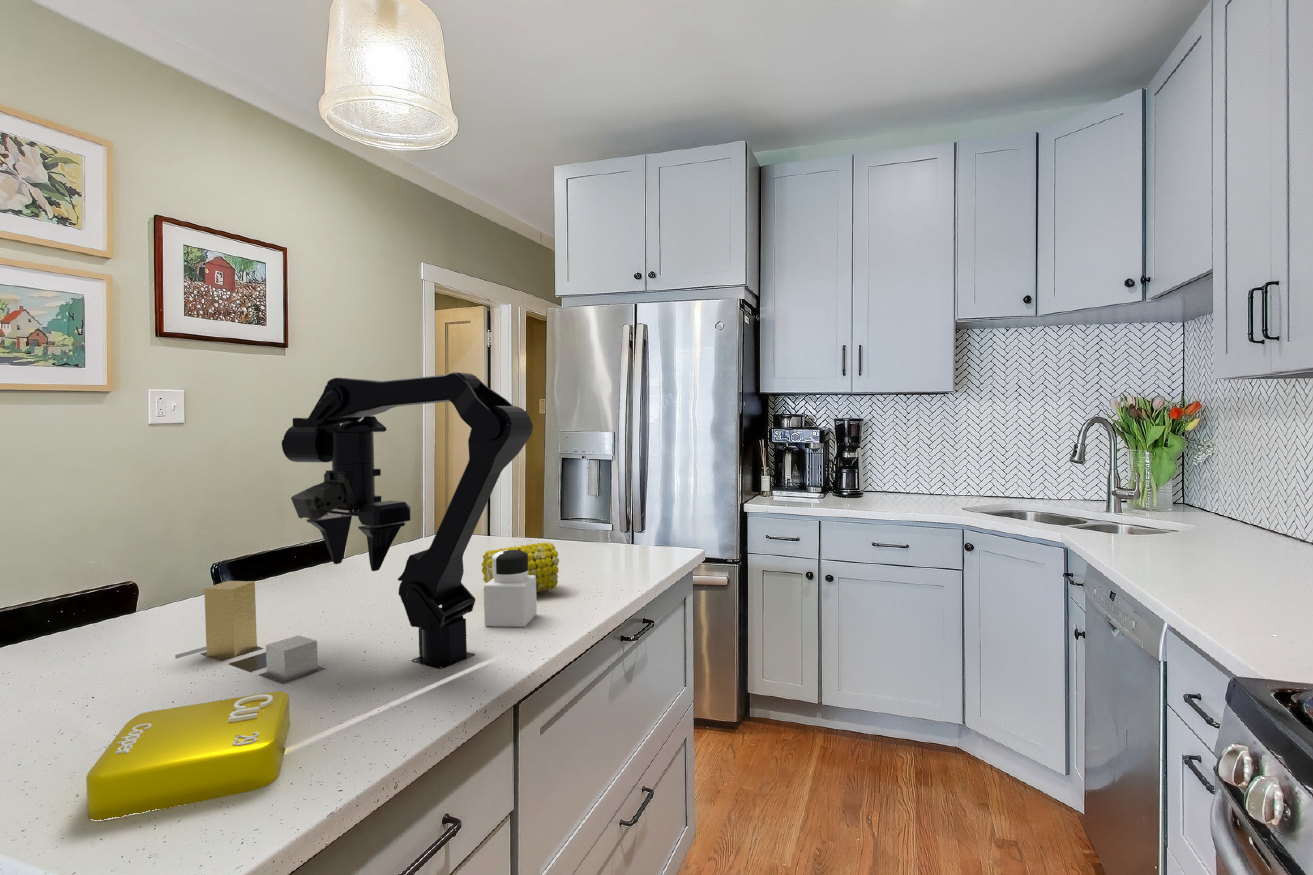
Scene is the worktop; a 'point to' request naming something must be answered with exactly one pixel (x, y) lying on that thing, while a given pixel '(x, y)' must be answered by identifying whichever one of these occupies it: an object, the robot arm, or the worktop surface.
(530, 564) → the food
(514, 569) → the medicine bottle
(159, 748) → the element tile
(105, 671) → the worktop surface
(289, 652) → the zinc block
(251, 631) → the tan wooden block
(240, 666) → the grey slotted plate
